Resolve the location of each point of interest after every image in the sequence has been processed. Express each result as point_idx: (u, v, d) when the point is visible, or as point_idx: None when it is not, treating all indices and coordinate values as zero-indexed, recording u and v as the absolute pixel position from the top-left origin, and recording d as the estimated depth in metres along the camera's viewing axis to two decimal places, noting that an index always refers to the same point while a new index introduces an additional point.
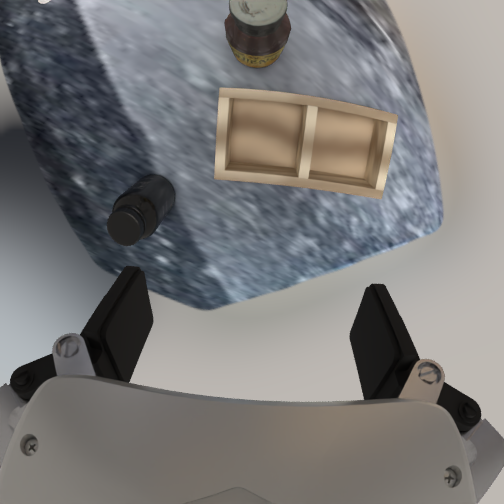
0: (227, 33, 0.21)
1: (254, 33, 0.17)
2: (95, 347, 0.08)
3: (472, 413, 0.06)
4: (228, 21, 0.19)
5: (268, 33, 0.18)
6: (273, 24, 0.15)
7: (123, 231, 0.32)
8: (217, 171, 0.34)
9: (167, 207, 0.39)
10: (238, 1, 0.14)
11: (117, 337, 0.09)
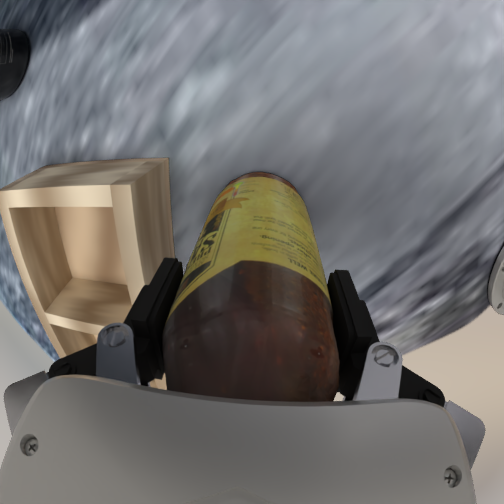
0: (221, 306, 0.08)
1: None
2: (141, 336, 0.09)
3: (433, 400, 0.06)
4: (250, 363, 0.06)
5: None
6: None
7: None
8: (4, 195, 0.13)
9: None
10: None
11: (161, 326, 0.09)
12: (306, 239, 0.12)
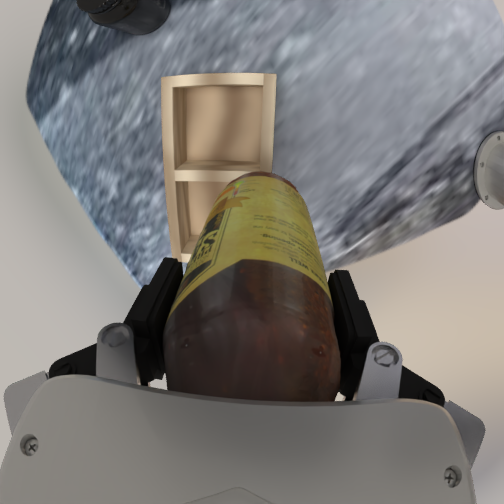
0: (223, 305, 0.08)
1: None
2: (141, 336, 0.09)
3: (433, 400, 0.06)
4: (252, 362, 0.06)
5: None
6: None
7: None
8: (171, 79, 0.24)
9: (127, 30, 0.22)
10: None
11: (162, 326, 0.09)
12: (306, 238, 0.12)
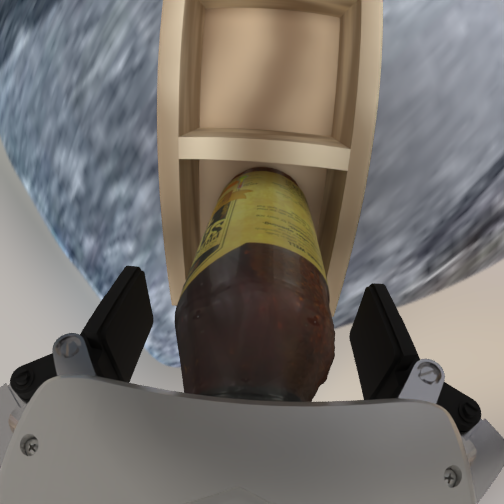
0: (230, 280, 0.09)
1: None
2: (95, 347, 0.08)
3: (472, 413, 0.06)
4: (254, 327, 0.08)
5: None
6: None
7: None
8: None
9: None
10: None
11: (117, 337, 0.09)
12: (304, 226, 0.13)
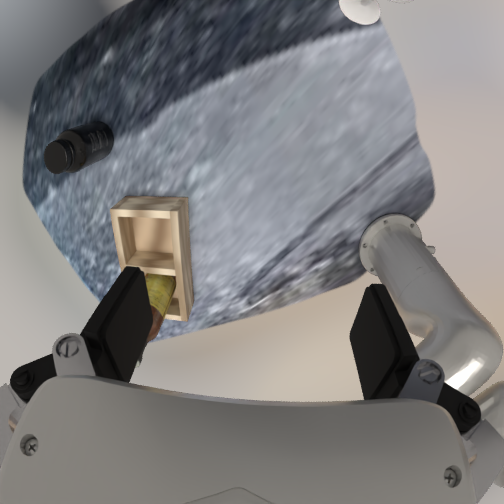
0: None
1: None
2: (95, 347, 0.08)
3: (472, 413, 0.06)
4: None
5: None
6: None
7: (53, 158, 0.30)
8: (115, 211, 0.41)
9: None
10: None
11: (117, 337, 0.09)
12: (158, 294, 0.45)
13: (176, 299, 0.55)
